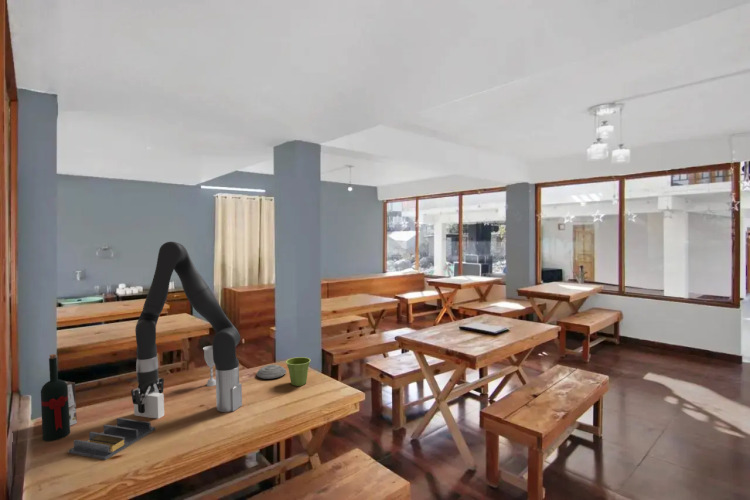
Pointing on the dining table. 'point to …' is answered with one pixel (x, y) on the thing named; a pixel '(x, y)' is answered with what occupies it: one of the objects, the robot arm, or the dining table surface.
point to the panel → (152, 406)
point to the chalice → (209, 364)
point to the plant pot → (298, 370)
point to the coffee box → (72, 402)
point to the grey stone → (271, 372)
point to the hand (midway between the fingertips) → (149, 408)
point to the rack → (112, 439)
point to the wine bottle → (54, 405)
